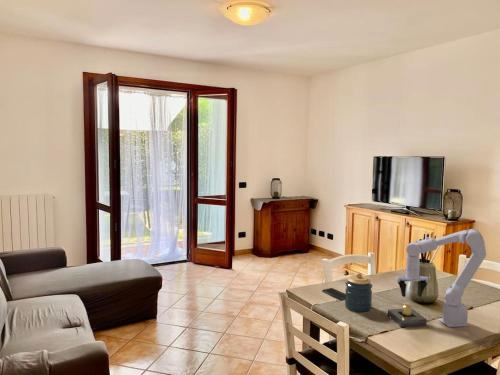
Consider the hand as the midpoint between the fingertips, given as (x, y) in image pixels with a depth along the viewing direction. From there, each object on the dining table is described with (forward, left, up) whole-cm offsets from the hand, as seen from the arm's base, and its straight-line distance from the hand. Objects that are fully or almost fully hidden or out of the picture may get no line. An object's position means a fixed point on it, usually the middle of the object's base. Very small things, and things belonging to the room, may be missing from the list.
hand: (411, 296), depth 178 cm
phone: (+26, -30, -10) cm, 41 cm away
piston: (+5, +5, -9) cm, 12 cm away
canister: (+21, -12, -10) cm, 26 cm away
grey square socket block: (+5, +5, -9) cm, 12 cm away
